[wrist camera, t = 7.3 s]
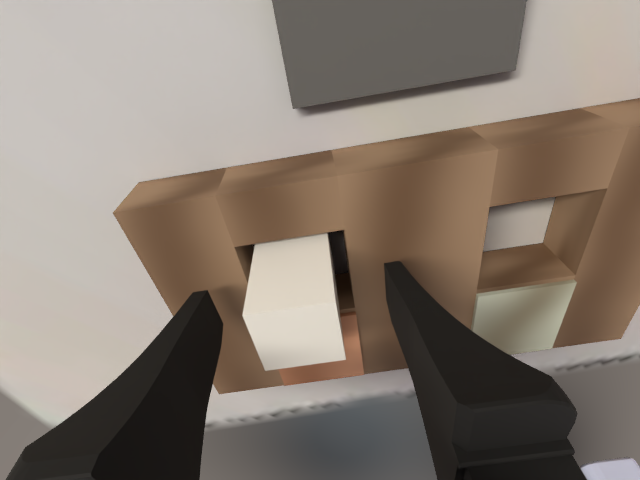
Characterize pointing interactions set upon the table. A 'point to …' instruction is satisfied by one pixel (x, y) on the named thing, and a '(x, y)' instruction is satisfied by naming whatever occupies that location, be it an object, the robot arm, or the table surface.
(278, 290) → the plug
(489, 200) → the socket block
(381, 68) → the grey square plate
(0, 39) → the table surface
